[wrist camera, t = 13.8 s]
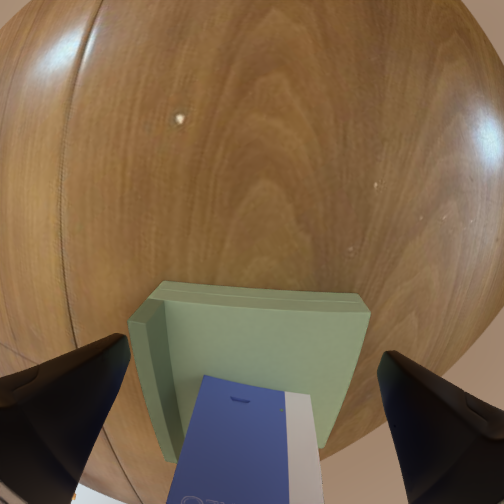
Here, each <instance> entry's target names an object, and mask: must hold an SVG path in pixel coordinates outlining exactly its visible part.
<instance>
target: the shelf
mask: <svg viewBox="0 0 504 504" xmlns="http://www.w3.org/2000/svg"><path fill="white" fill-rule="evenodd" d="M370 315H371V312H370V310H369V309H368V308H367V306H366V305H365V303H364V302H363V300H362V299H361V297H360V296H359V295H358V294H357V293H330V292H308V291H289V290H272V289H257V288H242V287H229V286H217V285H205V284H193V283H183V282H172V281H162V282H161V284H160V285H159V286H158V287H157V288H156V289H155V290H154V291H153V292H152V293H151V294H150V296H149V297H148V298H147V299H146V300H145V301H144V302H143V303H142V305H141V306H140V307H139V308H138V309H137V310H136V311H135V312H134V314H133V315H132V316H131V317H130V318H129V319H128V320H127V323H128V329H129V334H130V340H131V345H132V350H133V354H134V359H135V363H136V368H137V372H138V376H139V380H140V384H141V388H142V391H143V395H144V399H145V402H146V406H147V409H148V412H149V416H150V419H151V422H152V425H153V428H154V431H155V434H156V437H157V440H158V443H159V446H160V448H161V451H162V454H163V456H164V459H165V461H167V462H171V463H176V464H177V463H178V460H179V457H180V453H181V450H182V446H183V443H184V440H185V436H186V433H187V429H188V426H189V423H190V419H191V416H192V413H193V409H194V406H195V403H196V399H197V396H198V393H199V389H200V386H201V383H202V379H203V376H204V375H207V376H211V377H215V378H219V379H223V380H228V381H232V382H237V383H241V384H246V385H251V386H256V387H261V388H267V389H272V390H278V391H287V392H293V393H300V394H307V395H310V398H311V405H312V411H313V418H314V424H315V431H316V438H317V445H318V448H324V446H325V444H326V441H327V439H328V437H329V435H330V432H331V430H332V428H333V426H334V423H335V421H336V418H337V416H338V413H339V411H340V408H341V406H342V403H343V401H344V398H345V395H346V393H347V390H348V387H349V384H350V382H351V379H352V376H353V373H354V370H355V367H356V364H357V361H358V357H359V354H360V351H361V348H362V344H363V341H364V337H365V334H366V330H367V326H368V323H369V319H370Z"/></svg>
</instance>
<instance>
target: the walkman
mask: <svg viewBox="0 0 504 504" xmlns="http://www.w3.org/2000/svg"><path fill="white" fill-rule="evenodd" d="M166 504H324V497H323V490H322V476H321V467H320V460H319V452H318V445H317V438H316V431H315V424H314V418H313V411H312V405H311V398H310V395H307V394H300V393H293V392H287V391H278V390H272V389H267V388H261V387H256V386H251V385H246V384H241V383H237V382H232V381H228V380H223V379H219V378H215V377H211V376H207V375H204V376H203V379H202V383H201V386H200V389H199V393H198V396H197V399H196V403H195V406H194V409H193V413H192V416H191V419H190V423H189V426H188V429H187V433H186V436H185V440H184V443H183V446H182V450H181V453H180V457H179V460H178V463H177V467H176V470H175V474H174V477H173V481H172V484H171V488H170V491H169V495H168V498H167V502H166Z"/></svg>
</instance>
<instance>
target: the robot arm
mask: <svg viewBox="0 0 504 504" xmlns="http://www.w3.org/2000/svg"><path fill="white" fill-rule="evenodd" d="M130 358H131V353H130V348H129V344H128V339H127V337H126V335H124V334H119V333H114V334H112V335H109V336H107V337H105V338H102V339H100V340H98V341H95V342H93V343H90V344H88V345H86V346H83V347H81V348H78V349H76V350H73V351H71V352H69V353H66V354H64V355H61V356H59V357H56V358H54V359H51V360H49V361H46V362H44V363H41V364H40V365H36V366H34V367H31V368H28V369H26V370H23V371H20V372H17V373H14V374H11V375H7V376H4V377H1V378H0V504H71V501H72V498H73V496H74V493H75V490H76V487H77V485H78V482H79V480H80V477H81V475H82V472H83V470H84V467H85V465H86V463H87V460H88V458H89V455H90V453H91V451H92V448H93V446H94V444H95V442H96V439H97V437H98V435H99V433H100V430H101V428H102V426H103V424H104V422H105V420H106V417H107V415H108V413H109V411H110V409H111V407H112V405H113V403H114V400H115V398H116V396H117V394H118V392H119V389H120V387H121V384H122V381H123V378H124V375H125V372H126V370H127V367H128V364H129V361H130ZM377 377H378V381H379V386H380V391H381V396H382V402H383V407H384V411H385V414H386V418H387V421H388V424H389V428H390V431H391V434H392V438H393V441H394V445H395V449H396V452H397V456H398V460H399V464H400V468H401V472H402V476H403V481H404V485H405V489H406V494H407V499H408V504H504V411H503V410H501V409H499V408H496V407H494V406H492V405H490V404H488V403H486V402H483V401H482V400H480V399H478V398H476V397H474V396H473V395H470V394H469V393H467V392H464V391H463V390H462V389H460V388H459V387H457V386H455V385H453V384H452V383H450V382H448V381H446V380H445V379H443V378H441V377H440V376H438V375H436V374H435V373H433V372H431V371H429V370H428V369H426V368H424V367H423V366H421V365H419V364H417V363H416V362H414V361H412V360H411V359H409V358H407V357H406V356H404V355H402V354H400V353H399V352H397V351H395V350H393V351H385V352H384V353H383V355H382V358H381V361H380V364H379V367H378V370H377Z"/></svg>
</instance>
